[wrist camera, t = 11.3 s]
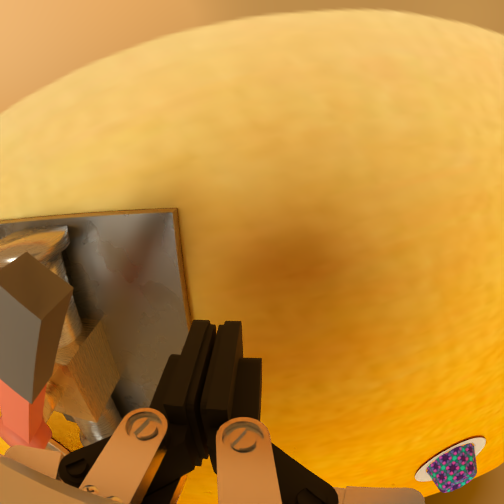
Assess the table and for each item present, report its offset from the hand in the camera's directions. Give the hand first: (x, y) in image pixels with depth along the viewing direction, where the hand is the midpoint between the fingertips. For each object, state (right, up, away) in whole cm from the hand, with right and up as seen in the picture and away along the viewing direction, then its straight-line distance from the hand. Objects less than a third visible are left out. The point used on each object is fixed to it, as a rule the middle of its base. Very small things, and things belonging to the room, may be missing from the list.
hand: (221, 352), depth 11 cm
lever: (-10, -3, +1) cm, 11 cm away
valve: (-12, -5, +13) cm, 18 cm away
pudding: (+30, -27, +20) cm, 45 cm away
